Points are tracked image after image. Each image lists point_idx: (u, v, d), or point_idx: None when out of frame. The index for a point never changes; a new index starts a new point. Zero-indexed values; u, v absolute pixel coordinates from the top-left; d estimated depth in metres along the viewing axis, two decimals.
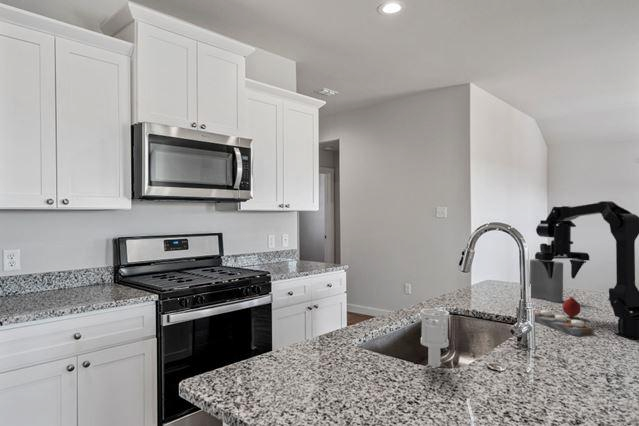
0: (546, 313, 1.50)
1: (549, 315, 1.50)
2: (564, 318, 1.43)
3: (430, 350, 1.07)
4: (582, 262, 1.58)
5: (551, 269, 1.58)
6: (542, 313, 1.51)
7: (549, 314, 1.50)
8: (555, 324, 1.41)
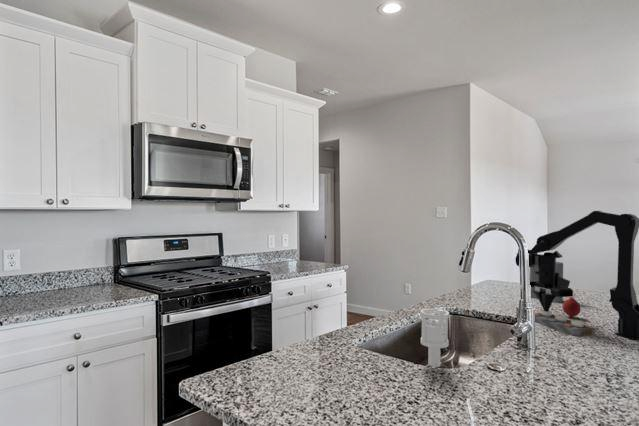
0: (546, 313, 1.50)
1: (549, 315, 1.50)
2: (564, 318, 1.43)
3: (430, 350, 1.07)
4: (543, 294, 1.50)
5: (539, 300, 1.53)
6: (542, 313, 1.51)
7: (549, 314, 1.50)
8: (555, 324, 1.41)
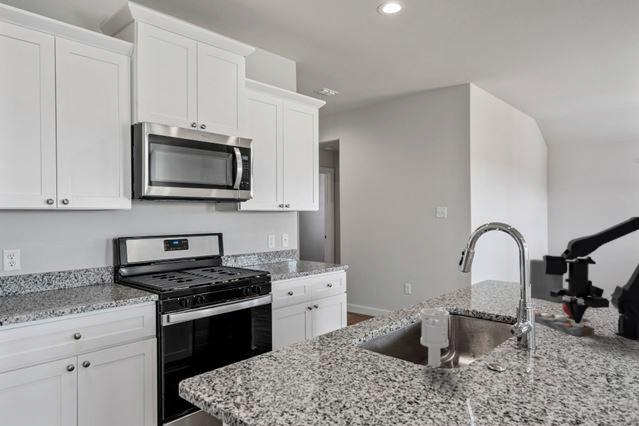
0: (546, 316, 1.50)
1: None
2: (564, 318, 1.43)
3: (430, 350, 1.07)
4: (575, 305, 1.36)
5: (570, 311, 1.39)
6: None
7: None
8: (555, 324, 1.41)
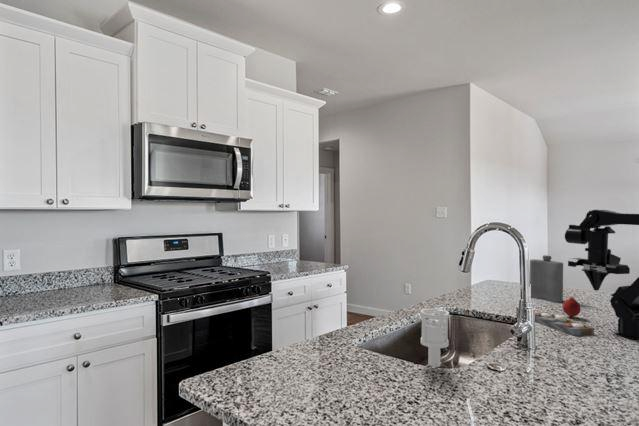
0: (546, 316, 1.50)
1: None
2: (564, 318, 1.43)
3: (430, 350, 1.07)
4: (595, 272, 1.41)
5: (589, 279, 1.44)
6: None
7: None
8: (555, 324, 1.41)
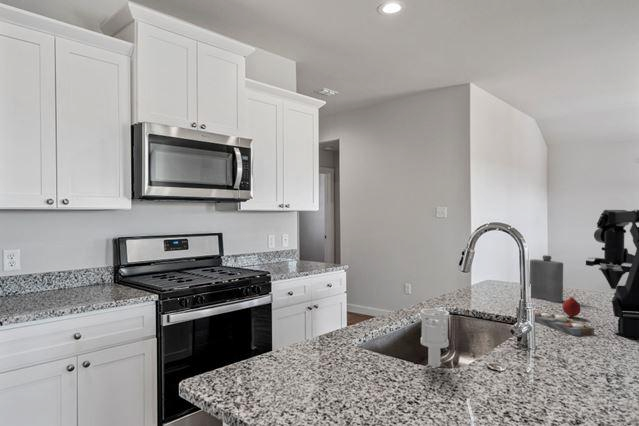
0: (546, 316, 1.50)
1: None
2: (564, 318, 1.43)
3: (430, 350, 1.07)
4: (611, 271, 1.44)
5: (606, 278, 1.47)
6: None
7: None
8: (555, 324, 1.41)
